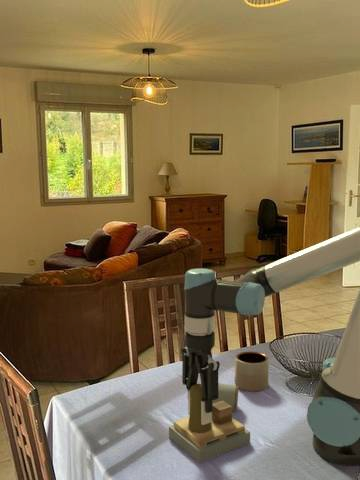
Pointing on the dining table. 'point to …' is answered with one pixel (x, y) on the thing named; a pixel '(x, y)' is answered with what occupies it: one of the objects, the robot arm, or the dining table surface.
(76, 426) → the dining table surface
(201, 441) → the pallet
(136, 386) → the dining table surface
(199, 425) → the olive pawn
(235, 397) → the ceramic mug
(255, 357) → the planter
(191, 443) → the dock
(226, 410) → the crate
